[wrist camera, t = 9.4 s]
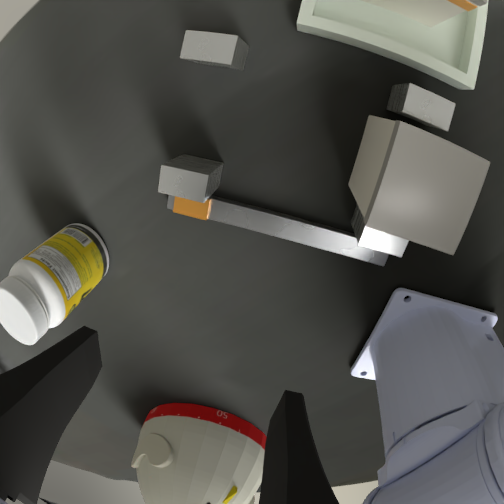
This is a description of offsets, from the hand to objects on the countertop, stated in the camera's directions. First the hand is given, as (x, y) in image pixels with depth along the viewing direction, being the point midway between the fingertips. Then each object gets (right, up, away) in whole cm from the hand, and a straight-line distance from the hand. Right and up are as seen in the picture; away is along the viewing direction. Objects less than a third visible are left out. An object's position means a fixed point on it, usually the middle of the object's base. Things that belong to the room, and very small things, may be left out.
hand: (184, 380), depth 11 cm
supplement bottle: (-10, +5, +11) cm, 15 cm away
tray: (+10, +18, 0) cm, 21 cm away
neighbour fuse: (+10, +9, +5) cm, 15 cm away
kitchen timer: (-2, -16, +20) cm, 25 cm away
